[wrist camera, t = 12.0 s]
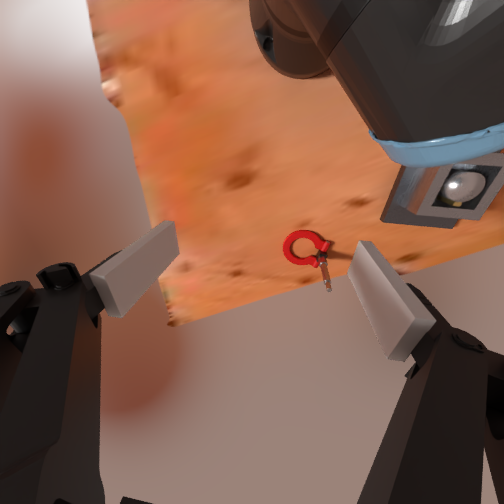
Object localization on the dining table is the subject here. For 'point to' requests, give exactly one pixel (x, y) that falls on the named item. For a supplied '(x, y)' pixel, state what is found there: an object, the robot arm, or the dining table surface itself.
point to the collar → (431, 180)
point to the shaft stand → (452, 192)
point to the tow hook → (312, 260)
